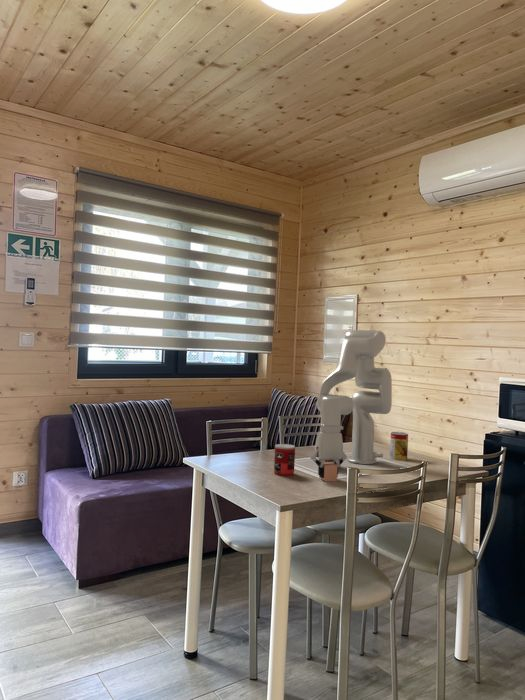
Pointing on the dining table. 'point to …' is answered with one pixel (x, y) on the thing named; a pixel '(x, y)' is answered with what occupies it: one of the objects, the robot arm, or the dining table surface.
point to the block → (330, 471)
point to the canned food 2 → (399, 446)
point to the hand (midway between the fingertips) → (328, 476)
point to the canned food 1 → (284, 459)
